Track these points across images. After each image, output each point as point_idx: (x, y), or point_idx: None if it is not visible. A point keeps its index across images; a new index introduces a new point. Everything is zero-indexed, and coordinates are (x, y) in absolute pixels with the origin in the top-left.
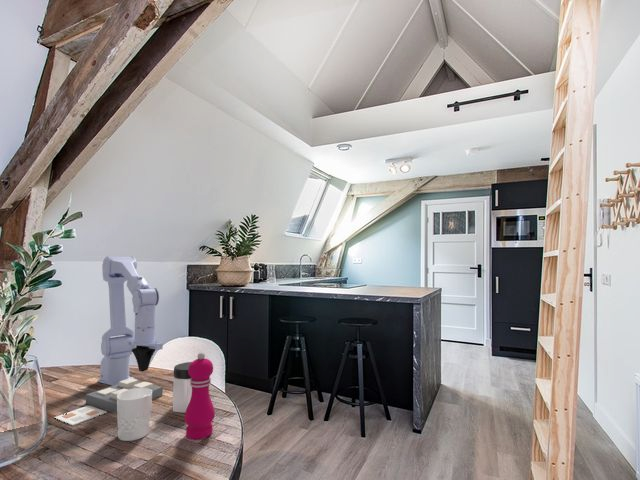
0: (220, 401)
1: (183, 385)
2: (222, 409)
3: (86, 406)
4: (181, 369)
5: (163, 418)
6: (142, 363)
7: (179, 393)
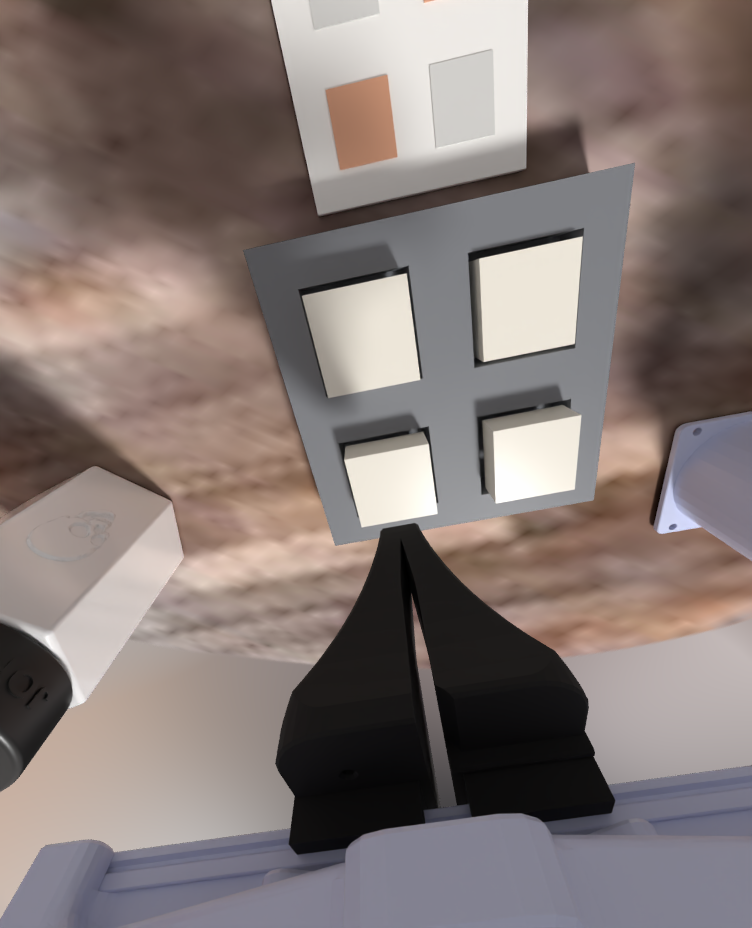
0: None
1: None
2: None
3: (517, 148)
4: None
5: (34, 401)
6: (371, 580)
7: None
